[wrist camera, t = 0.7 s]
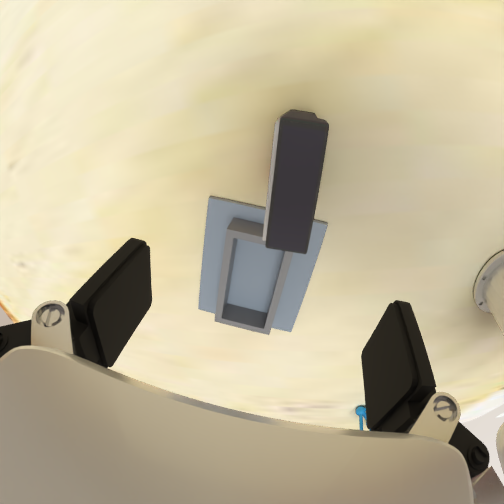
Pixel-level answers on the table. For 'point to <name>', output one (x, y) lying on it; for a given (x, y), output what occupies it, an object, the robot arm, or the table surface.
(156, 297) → the table surface
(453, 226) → the table surface
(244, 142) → the table surface
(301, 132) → the multicoloured piece
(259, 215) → the desk holder
